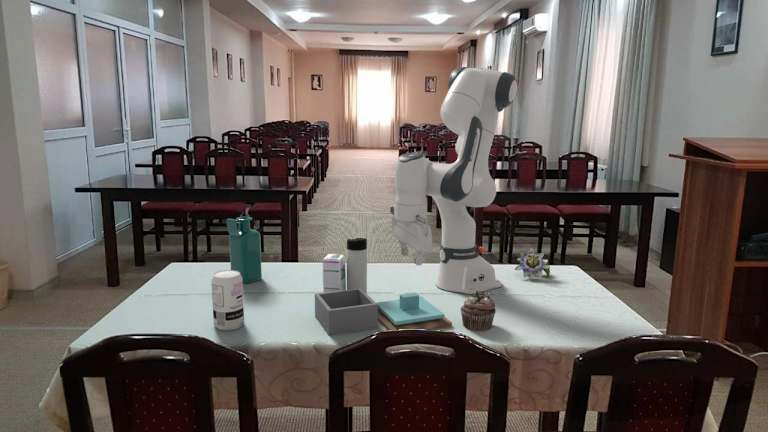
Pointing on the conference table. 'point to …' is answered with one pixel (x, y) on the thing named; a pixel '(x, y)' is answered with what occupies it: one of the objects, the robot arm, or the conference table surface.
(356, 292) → the storage box
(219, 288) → the supplement can
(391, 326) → the walnut board
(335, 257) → the syrup box
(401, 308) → the lid
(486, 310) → the cupcake
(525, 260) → the passion flower
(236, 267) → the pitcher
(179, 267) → the conference table surface
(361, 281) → the travel mug
